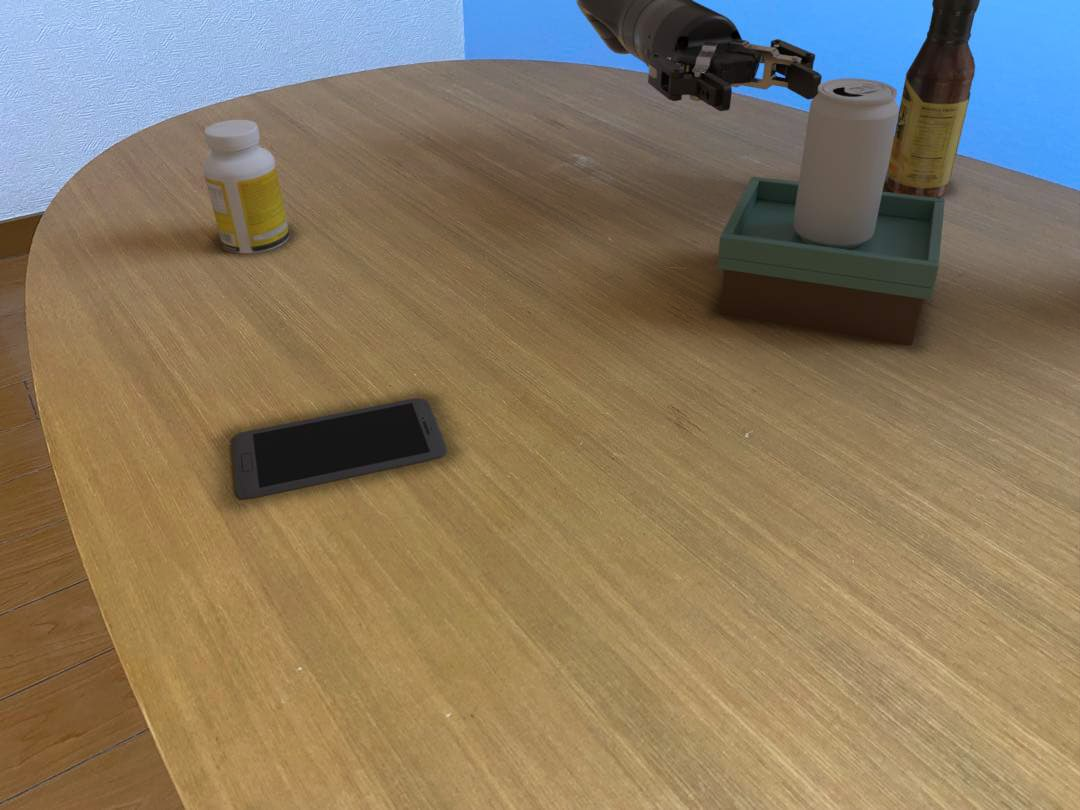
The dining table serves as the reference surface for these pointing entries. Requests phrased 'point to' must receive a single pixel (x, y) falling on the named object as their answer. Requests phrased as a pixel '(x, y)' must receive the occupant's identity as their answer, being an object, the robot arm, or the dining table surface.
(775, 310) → the storage box
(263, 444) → the cell phone
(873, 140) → the beverage can
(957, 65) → the sauce bottle
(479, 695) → the dining table surface
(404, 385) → the dining table surface
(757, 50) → the robot arm
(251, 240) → the pill bottle
